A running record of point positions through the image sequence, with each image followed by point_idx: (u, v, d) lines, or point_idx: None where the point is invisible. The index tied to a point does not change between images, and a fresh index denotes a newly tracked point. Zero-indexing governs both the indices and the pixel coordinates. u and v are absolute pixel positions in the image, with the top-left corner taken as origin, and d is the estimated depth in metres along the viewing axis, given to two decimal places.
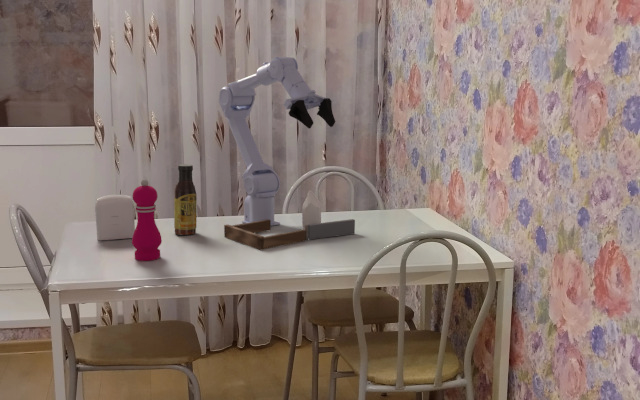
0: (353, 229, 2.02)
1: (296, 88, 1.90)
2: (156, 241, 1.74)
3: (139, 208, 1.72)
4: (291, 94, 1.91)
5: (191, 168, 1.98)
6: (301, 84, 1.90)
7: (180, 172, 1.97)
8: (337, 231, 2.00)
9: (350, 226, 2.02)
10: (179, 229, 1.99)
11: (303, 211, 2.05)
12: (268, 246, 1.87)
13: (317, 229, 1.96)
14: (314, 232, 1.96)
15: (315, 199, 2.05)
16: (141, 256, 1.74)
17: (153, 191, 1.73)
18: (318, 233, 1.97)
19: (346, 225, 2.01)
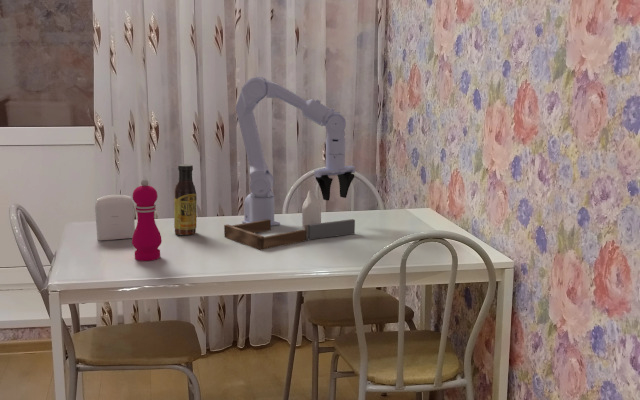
0: (353, 229, 2.02)
1: (333, 159, 2.06)
2: (156, 241, 1.74)
3: (139, 208, 1.72)
4: (327, 158, 2.08)
5: (191, 168, 1.98)
6: (339, 157, 2.06)
7: (180, 172, 1.97)
8: (337, 231, 2.00)
9: (350, 226, 2.02)
10: (179, 229, 1.99)
11: (303, 211, 2.05)
12: (268, 246, 1.87)
13: (317, 229, 1.96)
14: (314, 232, 1.96)
15: (315, 199, 2.05)
16: (141, 256, 1.74)
17: (153, 191, 1.73)
18: (318, 233, 1.97)
19: (346, 225, 2.01)
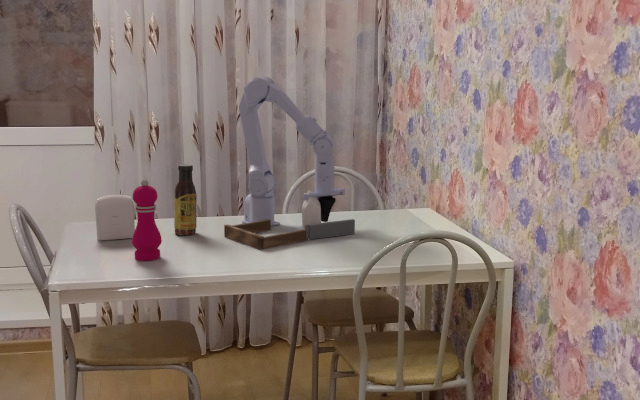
0: (353, 229, 2.02)
1: (322, 182, 2.05)
2: (156, 241, 1.74)
3: (139, 208, 1.72)
4: (316, 181, 2.06)
5: (191, 168, 1.98)
6: (328, 180, 2.05)
7: (180, 172, 1.97)
8: (337, 231, 2.00)
9: (350, 226, 2.02)
10: (179, 229, 1.99)
11: (303, 211, 2.04)
12: (268, 246, 1.87)
13: (317, 229, 1.96)
14: (314, 232, 1.96)
15: (315, 199, 2.05)
16: (141, 256, 1.74)
17: (153, 191, 1.73)
18: (318, 233, 1.97)
19: (346, 225, 2.01)
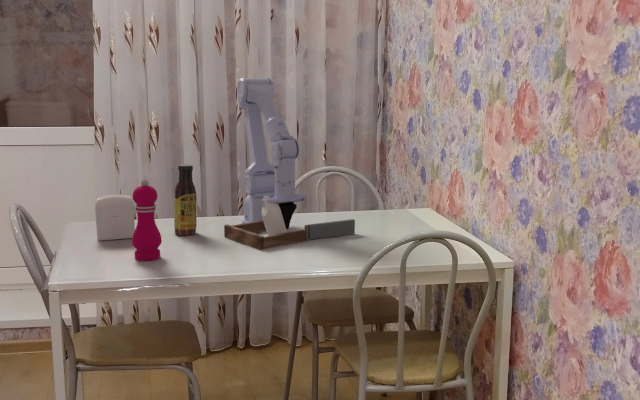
0: (353, 229, 2.02)
1: (282, 187, 1.95)
2: (156, 241, 1.74)
3: (139, 208, 1.72)
4: (275, 186, 1.97)
5: (191, 168, 1.98)
6: (288, 186, 1.96)
7: (180, 172, 1.97)
8: (337, 231, 2.00)
9: (350, 226, 2.02)
10: (179, 229, 1.99)
11: (264, 219, 1.95)
12: (268, 246, 1.87)
13: (317, 229, 1.96)
14: (314, 232, 1.96)
15: (273, 203, 1.95)
16: (141, 256, 1.74)
17: (153, 191, 1.73)
18: (318, 233, 1.97)
19: (346, 225, 2.01)
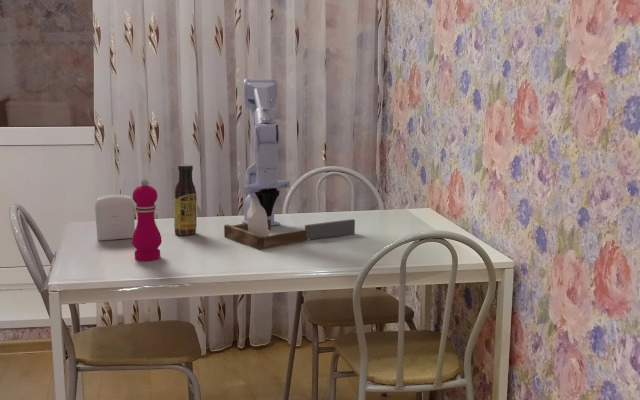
0: (353, 229, 2.02)
1: (263, 173, 1.91)
2: (156, 241, 1.74)
3: (139, 208, 1.72)
4: (257, 172, 1.92)
5: (191, 168, 1.98)
6: (270, 172, 1.91)
7: (180, 172, 1.97)
8: (337, 231, 2.00)
9: (350, 226, 2.02)
10: (179, 229, 1.99)
11: (248, 221, 1.91)
12: (268, 246, 1.87)
13: (317, 229, 1.96)
14: (314, 232, 1.96)
15: (259, 206, 1.93)
16: (141, 256, 1.74)
17: (153, 191, 1.73)
18: (318, 233, 1.97)
19: (346, 225, 2.01)
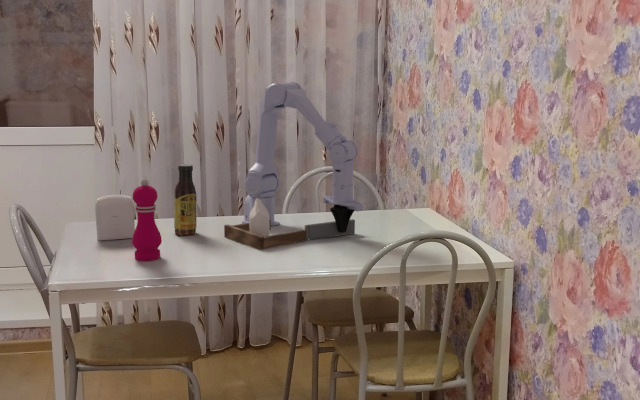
0: (353, 229, 2.02)
1: None
2: (156, 241, 1.74)
3: (139, 208, 1.72)
4: None
5: (191, 168, 1.98)
6: (333, 188, 1.95)
7: (180, 172, 1.97)
8: (337, 231, 2.00)
9: (350, 226, 2.02)
10: (179, 229, 1.99)
11: (251, 221, 1.92)
12: (268, 246, 1.87)
13: (317, 229, 1.96)
14: (314, 232, 1.96)
15: (263, 207, 1.93)
16: (141, 256, 1.74)
17: (153, 191, 1.73)
18: (318, 233, 1.97)
19: None
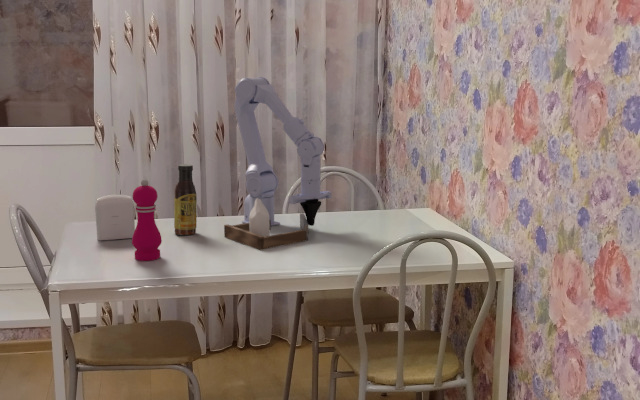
0: None
1: (308, 185, 2.01)
2: (156, 241, 1.74)
3: (139, 208, 1.72)
4: (301, 184, 2.03)
5: (191, 168, 1.98)
6: (314, 183, 2.02)
7: (180, 172, 1.97)
8: None
9: None
10: (179, 229, 1.99)
11: (251, 221, 1.92)
12: (268, 246, 1.87)
13: None
14: None
15: (263, 207, 1.93)
16: (141, 256, 1.74)
17: (153, 191, 1.73)
18: None
19: None
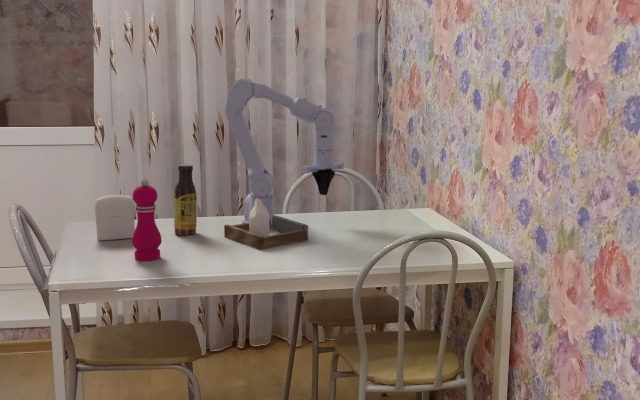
0: None
1: (321, 155, 2.07)
2: (156, 241, 1.74)
3: (139, 208, 1.72)
4: (315, 154, 2.08)
5: (191, 168, 1.98)
6: (327, 153, 2.07)
7: (180, 172, 1.97)
8: None
9: None
10: (179, 229, 1.99)
11: (251, 221, 1.92)
12: (268, 246, 1.87)
13: None
14: None
15: (263, 207, 1.93)
16: (141, 256, 1.74)
17: (153, 191, 1.73)
18: None
19: None
